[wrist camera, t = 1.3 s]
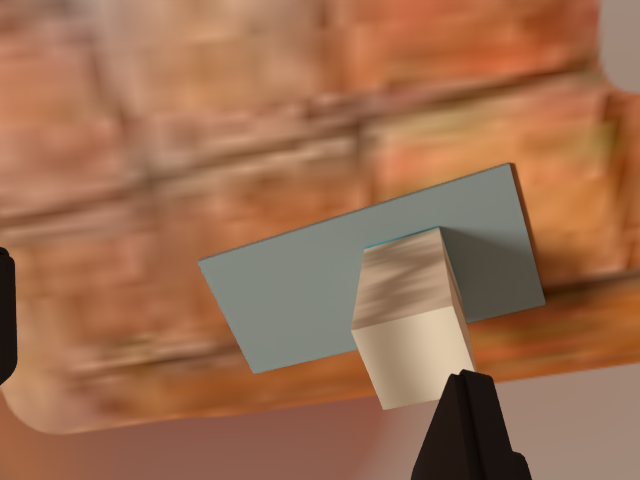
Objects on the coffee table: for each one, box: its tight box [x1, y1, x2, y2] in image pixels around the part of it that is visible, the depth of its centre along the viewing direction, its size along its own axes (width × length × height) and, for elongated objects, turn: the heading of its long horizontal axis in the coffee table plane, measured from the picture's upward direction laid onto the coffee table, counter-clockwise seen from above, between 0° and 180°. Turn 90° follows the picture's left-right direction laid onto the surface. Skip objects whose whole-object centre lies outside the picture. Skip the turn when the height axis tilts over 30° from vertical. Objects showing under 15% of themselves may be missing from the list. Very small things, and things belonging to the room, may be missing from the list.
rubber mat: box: [197, 163, 546, 374], centre depth 42 cm, size 26×12×1 cm, turn 111°
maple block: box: [351, 226, 477, 410], centre depth 36 cm, size 6×6×12 cm
